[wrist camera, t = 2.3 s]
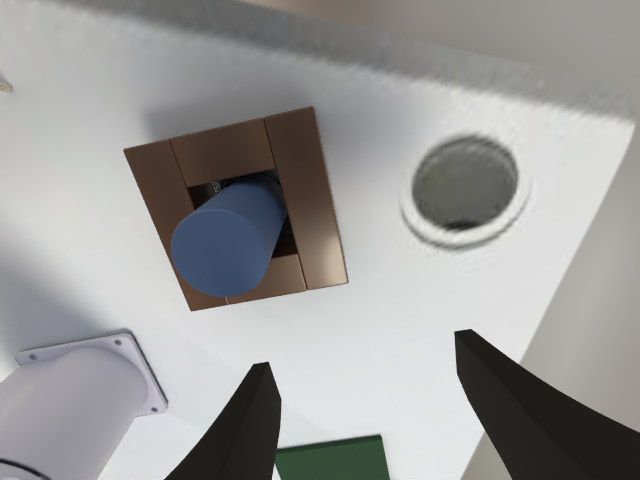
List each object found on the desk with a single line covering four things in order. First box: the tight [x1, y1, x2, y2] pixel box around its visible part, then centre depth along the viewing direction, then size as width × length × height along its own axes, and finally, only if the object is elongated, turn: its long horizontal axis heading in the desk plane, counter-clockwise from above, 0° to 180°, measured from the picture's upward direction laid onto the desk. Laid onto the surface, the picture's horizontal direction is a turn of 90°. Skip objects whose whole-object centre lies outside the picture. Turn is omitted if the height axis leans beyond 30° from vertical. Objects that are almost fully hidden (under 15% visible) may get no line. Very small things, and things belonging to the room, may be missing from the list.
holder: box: [123, 106, 349, 311], centre depth 19 cm, size 10×10×4 cm
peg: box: [171, 174, 287, 297], centre depth 17 cm, size 4×4×8 cm
